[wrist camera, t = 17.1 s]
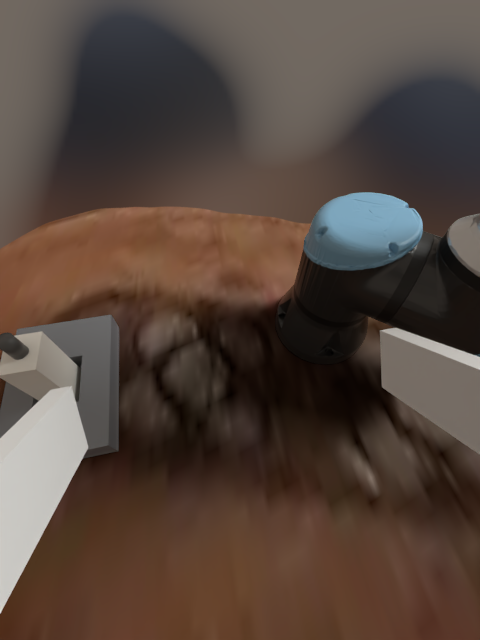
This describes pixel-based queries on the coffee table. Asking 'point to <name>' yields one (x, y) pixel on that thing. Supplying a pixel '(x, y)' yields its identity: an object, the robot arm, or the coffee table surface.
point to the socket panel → (81, 380)
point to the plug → (37, 365)
